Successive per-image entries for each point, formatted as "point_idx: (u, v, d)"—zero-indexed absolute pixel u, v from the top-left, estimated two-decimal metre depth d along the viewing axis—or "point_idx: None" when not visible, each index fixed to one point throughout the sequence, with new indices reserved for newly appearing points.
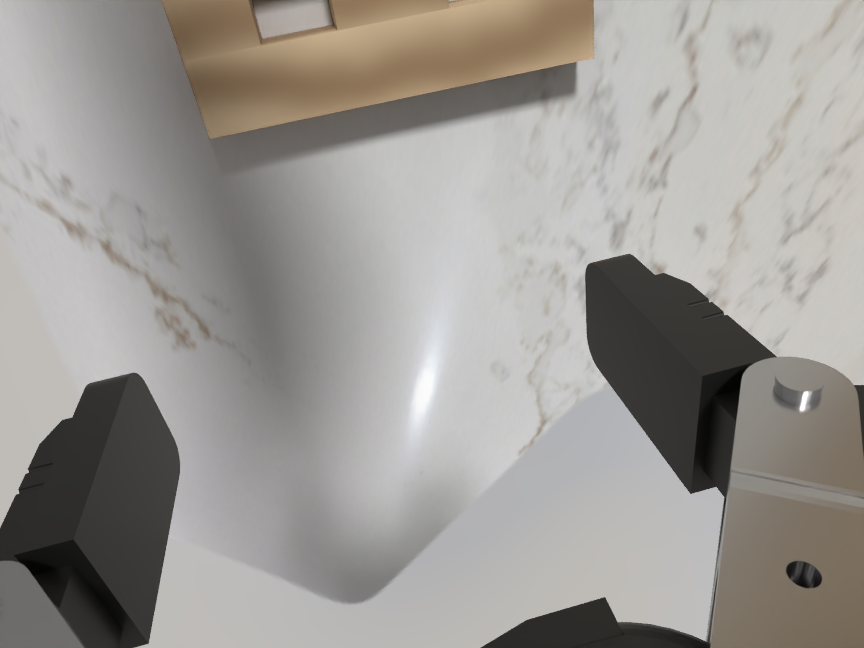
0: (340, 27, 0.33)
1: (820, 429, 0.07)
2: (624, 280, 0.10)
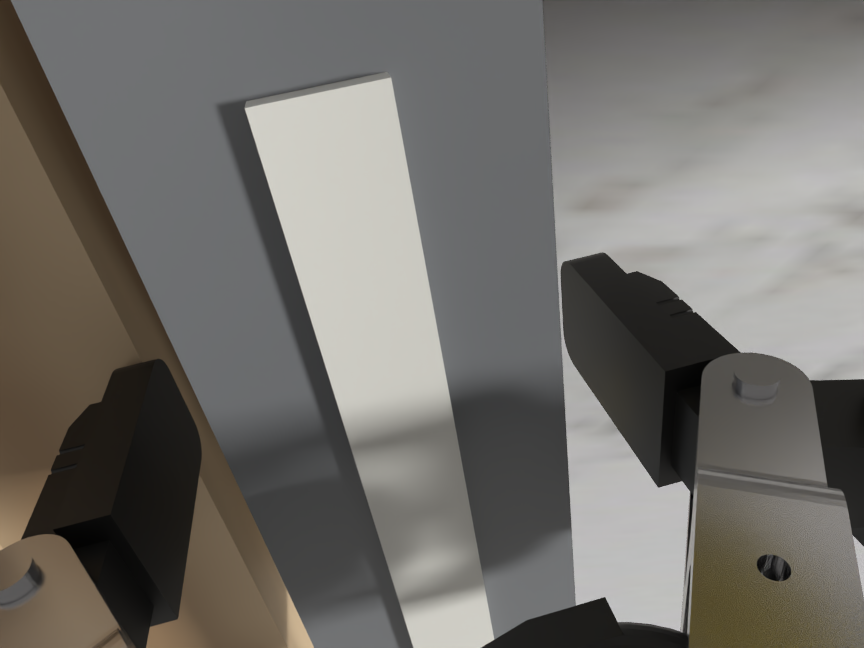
0: None
1: (774, 422, 0.07)
2: (596, 278, 0.10)
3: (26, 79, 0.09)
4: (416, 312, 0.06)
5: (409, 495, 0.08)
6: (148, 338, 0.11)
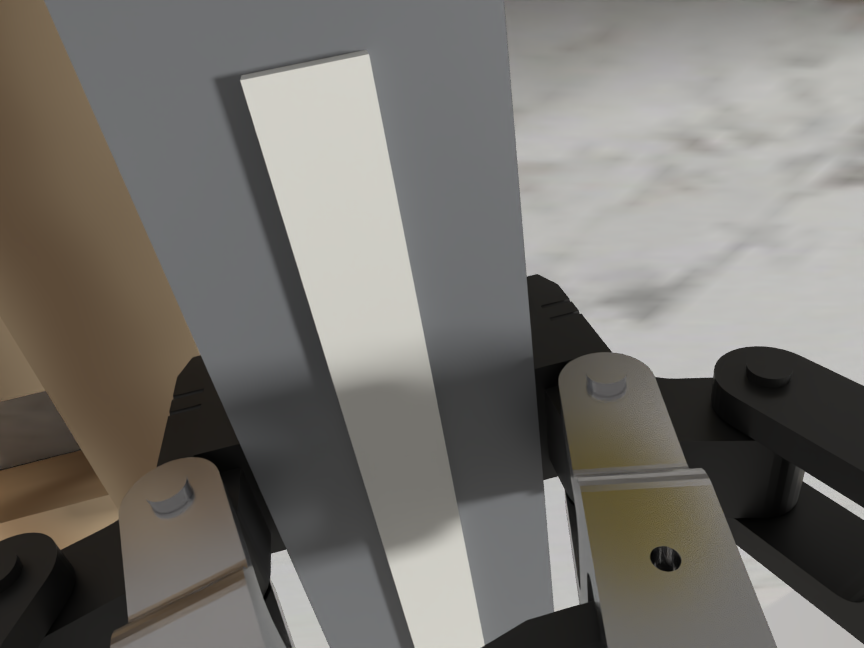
0: None
1: (612, 417, 0.08)
2: None
3: None
4: (394, 268, 0.07)
5: (391, 443, 0.08)
6: None
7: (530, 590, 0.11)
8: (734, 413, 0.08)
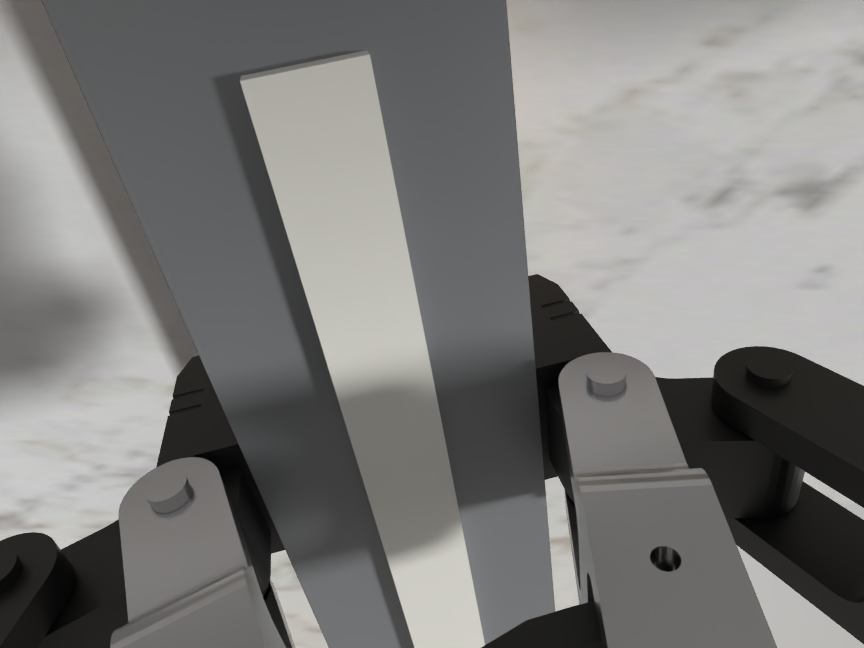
0: None
1: (611, 418, 0.08)
2: None
3: None
4: (395, 269, 0.07)
5: (391, 446, 0.08)
6: None
7: (532, 592, 0.11)
8: (734, 413, 0.08)
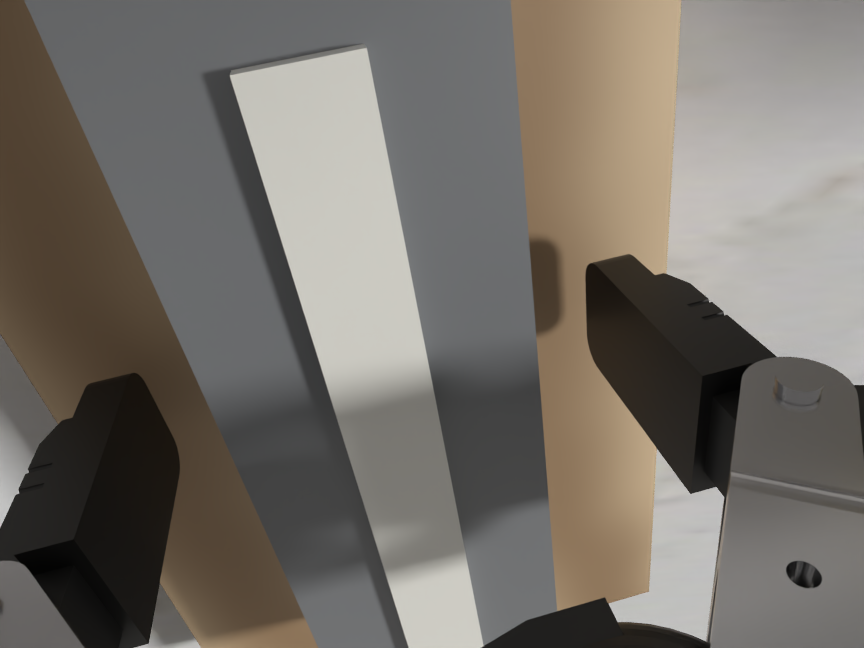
0: None
1: (820, 429, 0.07)
2: (624, 280, 0.10)
3: None
4: (395, 274, 0.07)
5: (390, 457, 0.08)
6: None
7: (535, 606, 0.11)
8: None
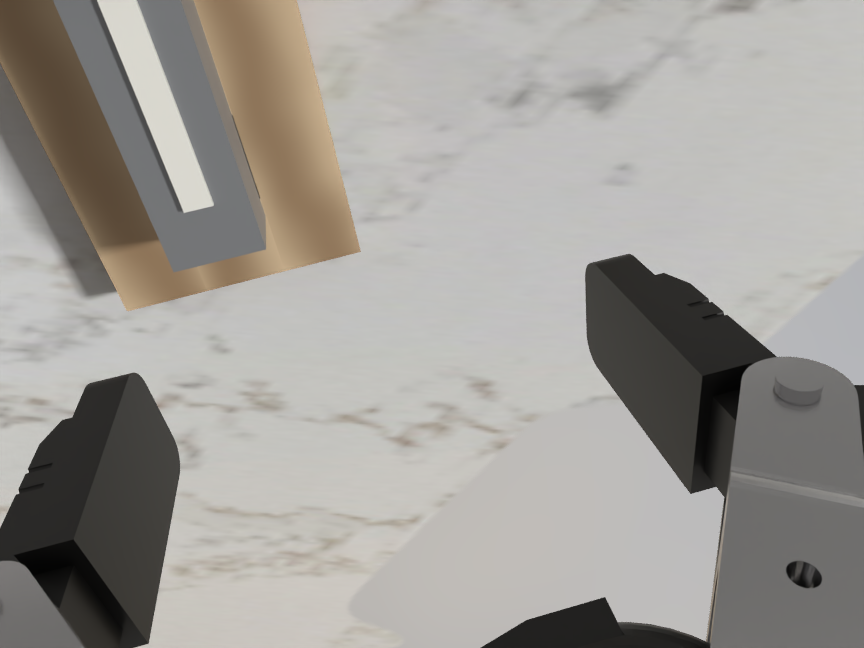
0: None
1: (820, 429, 0.07)
2: (624, 280, 0.10)
3: None
4: None
5: (131, 46, 0.22)
6: None
7: (223, 155, 0.25)
8: None
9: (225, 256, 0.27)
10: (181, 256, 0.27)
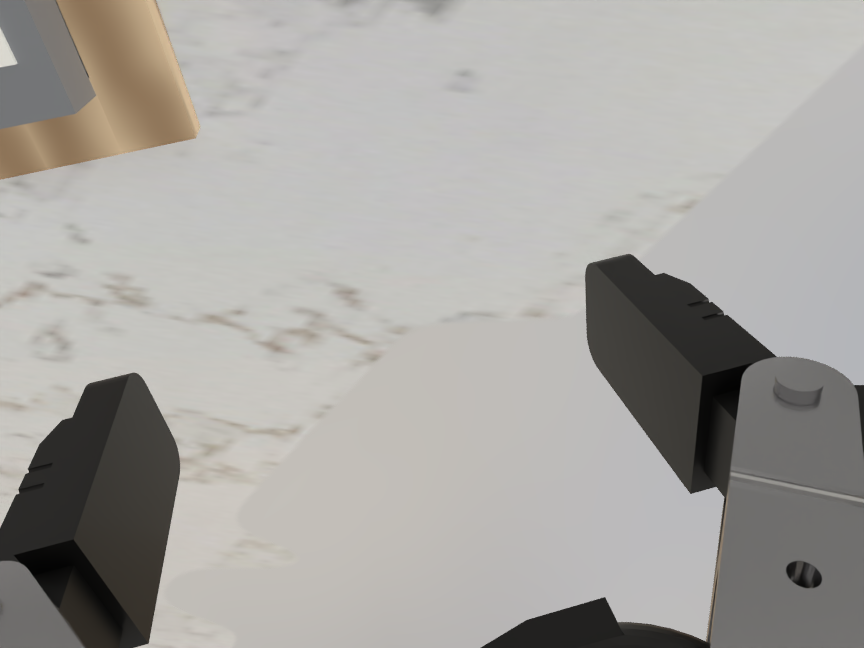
0: None
1: (820, 429, 0.07)
2: (624, 280, 0.10)
3: None
4: None
5: None
6: None
7: (20, 14, 0.27)
8: None
9: (36, 119, 0.29)
10: None
